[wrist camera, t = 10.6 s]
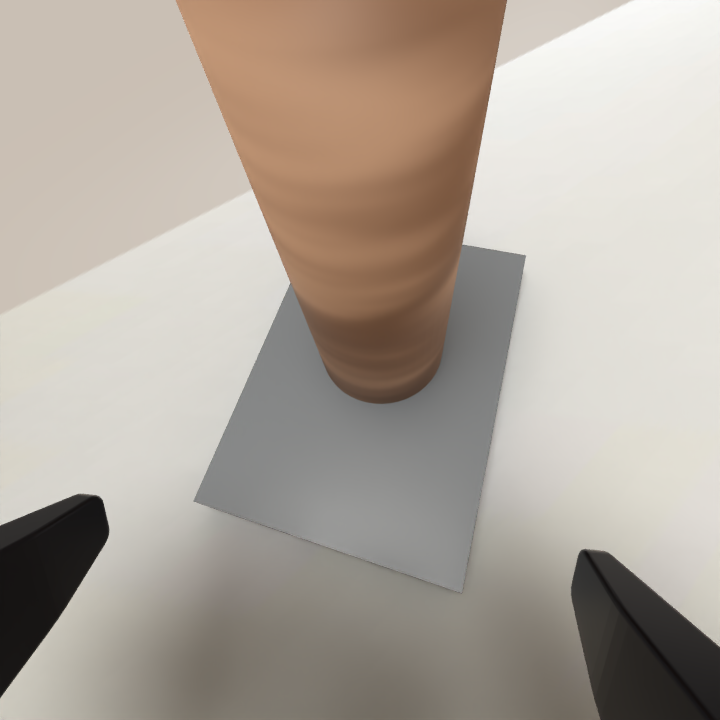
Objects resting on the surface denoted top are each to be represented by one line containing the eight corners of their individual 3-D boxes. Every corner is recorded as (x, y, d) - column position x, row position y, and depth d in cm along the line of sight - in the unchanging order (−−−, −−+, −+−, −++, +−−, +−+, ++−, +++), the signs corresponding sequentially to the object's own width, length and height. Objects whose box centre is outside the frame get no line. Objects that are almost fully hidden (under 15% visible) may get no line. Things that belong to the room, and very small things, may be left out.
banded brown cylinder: (381, 429, 17) (328, 106, 5) (298, 349, 18) (111, -27, 7) (467, 344, 18) (592, -81, 6) (381, 277, 20) (346, -151, 8)
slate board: (457, 591, 15) (462, 593, 14) (210, 506, 17) (193, 501, 16) (518, 275, 21) (525, 255, 19) (323, 240, 23) (318, 219, 21)
